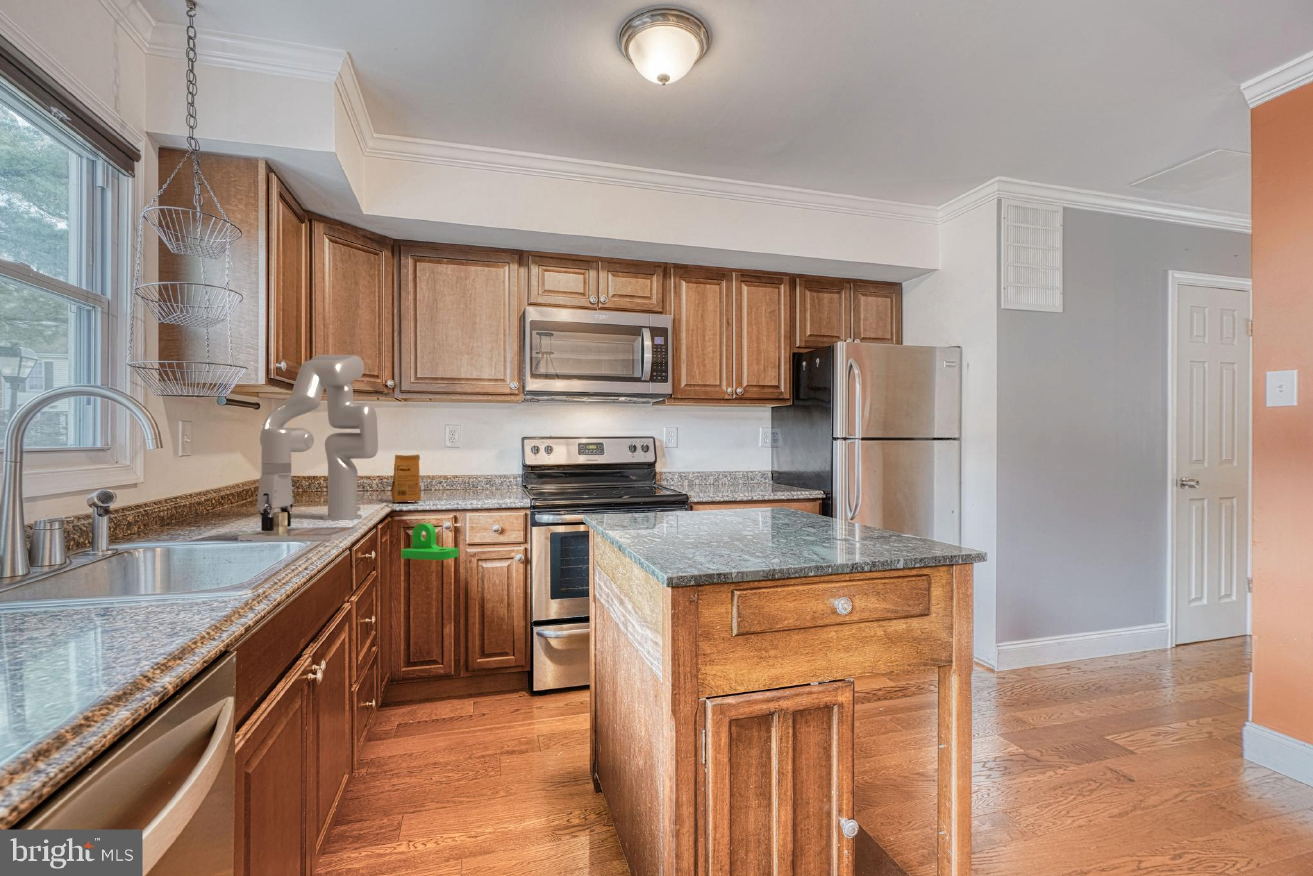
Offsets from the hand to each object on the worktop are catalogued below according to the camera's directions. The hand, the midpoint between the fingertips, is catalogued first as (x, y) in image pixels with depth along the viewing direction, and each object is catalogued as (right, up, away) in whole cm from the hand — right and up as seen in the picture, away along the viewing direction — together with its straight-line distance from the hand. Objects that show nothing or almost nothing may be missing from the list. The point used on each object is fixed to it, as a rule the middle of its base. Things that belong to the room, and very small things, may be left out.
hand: (276, 528), depth 177 cm
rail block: (+7, -2, 0) cm, 7 cm away
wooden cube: (0, -3, 0) cm, 3 cm away
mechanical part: (+57, -3, -30) cm, 65 cm away
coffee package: (-2, -3, +97) cm, 97 cm away
